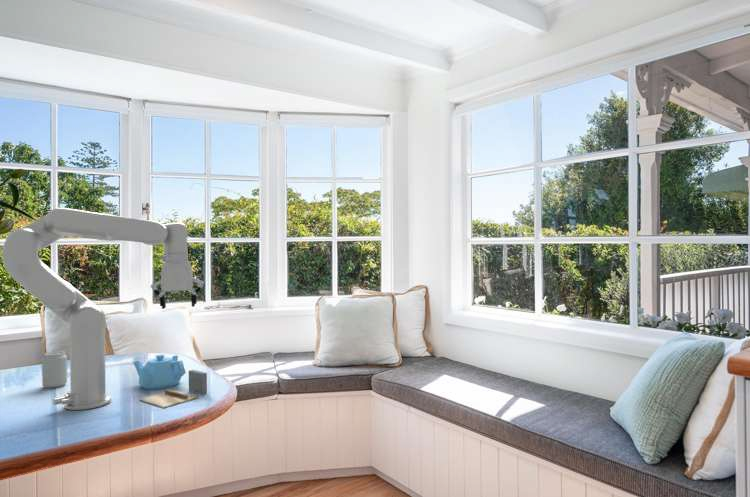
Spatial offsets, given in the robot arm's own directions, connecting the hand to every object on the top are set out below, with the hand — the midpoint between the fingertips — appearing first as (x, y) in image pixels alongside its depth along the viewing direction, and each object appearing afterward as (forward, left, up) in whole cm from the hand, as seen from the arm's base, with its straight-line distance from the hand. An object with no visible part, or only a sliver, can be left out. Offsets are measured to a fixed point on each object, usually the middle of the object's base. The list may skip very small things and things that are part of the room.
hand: (178, 307), depth 169 cm
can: (-23, +42, -29) cm, 56 cm away
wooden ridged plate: (-9, -8, -28) cm, 31 cm away
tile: (+1, -9, -29) cm, 30 cm away
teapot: (-1, +11, -29) cm, 31 cm away
